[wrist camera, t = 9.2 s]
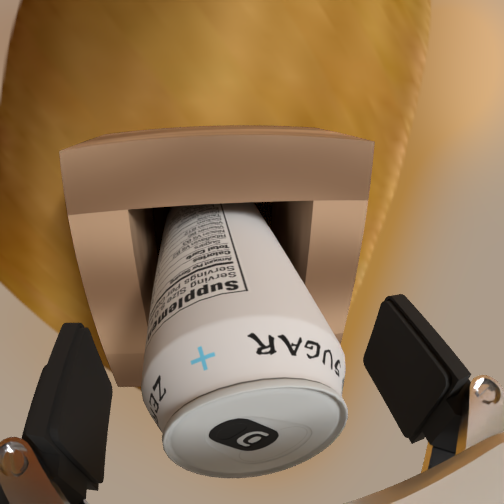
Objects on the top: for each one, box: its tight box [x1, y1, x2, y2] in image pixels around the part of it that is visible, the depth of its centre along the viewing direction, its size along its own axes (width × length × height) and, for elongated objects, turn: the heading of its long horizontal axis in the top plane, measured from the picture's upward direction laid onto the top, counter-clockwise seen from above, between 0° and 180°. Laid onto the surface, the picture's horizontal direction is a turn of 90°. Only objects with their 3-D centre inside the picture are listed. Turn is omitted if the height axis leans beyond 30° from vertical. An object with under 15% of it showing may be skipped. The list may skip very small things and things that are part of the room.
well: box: [59, 126, 374, 387], centre depth 17 cm, size 13×13×7 cm
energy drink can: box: [141, 202, 348, 478], centre depth 14 cm, size 6×6×15 cm
